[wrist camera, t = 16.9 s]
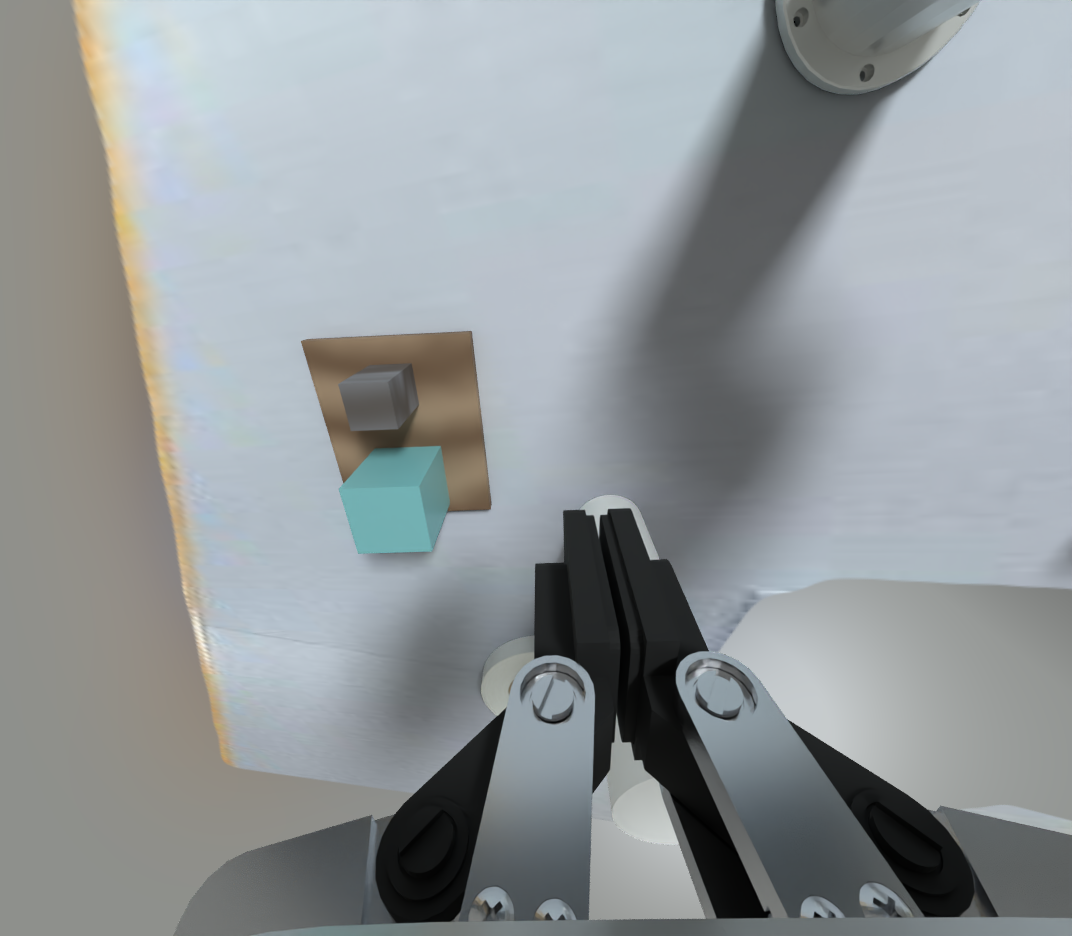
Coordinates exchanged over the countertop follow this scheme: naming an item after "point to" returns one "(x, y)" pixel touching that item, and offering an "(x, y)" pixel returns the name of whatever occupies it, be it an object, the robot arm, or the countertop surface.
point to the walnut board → (424, 421)
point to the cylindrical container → (627, 780)
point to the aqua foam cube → (397, 500)
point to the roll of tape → (504, 671)
